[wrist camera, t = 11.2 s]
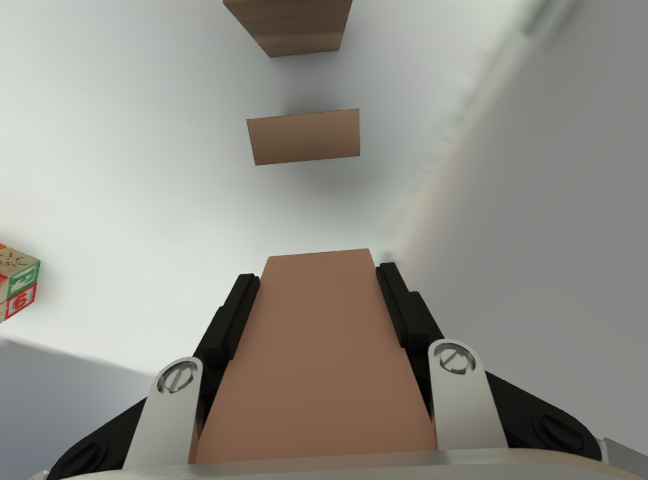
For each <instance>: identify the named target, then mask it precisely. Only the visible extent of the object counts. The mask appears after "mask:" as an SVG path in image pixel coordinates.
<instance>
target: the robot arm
mask: <svg viewBox="0 0 648 480" xmlns="http://www.w3.org/2000/svg"><path fill="white" fill-rule="evenodd" d="M376 277H377V280H378V283H379V286H380V289H381V292H382V295H383V297H384V300H385V303H386V306H387V309H388V312H389V315H390V318H391V321H392V324H393V326H394V329H395V332H396V335H397V338H398V341H399V344H400V347H401V348H405V351H406V354H407V357H408V359H409V362H410V365H411V368H412V371H413V373H414V376H415V379H416V382H417V384H418V387H419V390H420V393H421V396H422V398H423V401H424V404H425V407H426V409H427V412H428V415H429V418H430V420H431V423H432V426H433V432H434V442H435V450H432V451H412V452H393V453H374V454H355V455H337V456H320V457H302V458H285V459H268V460H251V461H235V462H219V463H203V464H195V462H196V455H197V448H198V442H199V439H200V436H201V434H202V431H203V428H204V426H205V423H206V421H207V418H208V415H209V413H210V410H211V407H212V405H213V402H214V400H215V397H216V394H217V392H218V389H219V386H220V384H221V381H222V378H223V376H224V373H225V371H226V368H227V365H228V363H229V360H233V358H234V355H235V353H236V350H237V347H238V344H239V342H240V339H241V336H242V333H243V331H244V328H245V325H246V323H247V320H248V317H249V314H250V312H251V309H252V306H253V303H254V301H255V298H256V295H257V293H258V290H259V287H260V284H261V283H260V279H259V277H258V276H255V275H254V274H253V273H251V274H240V275H239V276H238V278H237V280H236V282H235V284H234V286H233V288H232V290H231V292H230V294H229V295H228V297H227V299H226V301H225V303H224V305H223V306H221V307H219V309H218V310H217V312H216V314H215V316H214V317H213V319H212V321H211V323H210V325H209V327H208V329H207V330H206V332H205V334H204V336H203V338H202V340H201V341H200V343H199V345H198V347H197V349H196V351H195V353H194V354H193V356H192V357H185V358H181V359H178V360H176V361H174V362H172V363H170V364H169V365H167V366H166V367H165V368H164V369H162V370H161V371H160V372H159V374H158V375H157V376H156V377H155V379H154V381H153V383H152V386H151V388H150V391H149V394H148V396H147V397H146V398H144V399H143V400H141V401H140V402H138V403H137V404H135V405H134V406H132V407H130V408H129V409H128V410H126V411H124V412H123V413H122V414H120V415H118V416H117V417H115V418H114V419H112V420H111V421H109V422H108V423H106V424H105V425H103V426H102V427H100V428H99V429H97V430H96V431H94V432H93V433H91V434H89V435H88V436H86V437H85V438H83V439H82V440H80V441H79V442H78V443H76V444H75V445H74V446H72V447H71V448H70V449H69V450H68V451H67V452H66V453H65V454H64V455H63V456H62V457H61V458H59V460H58V461H57V462H56V464H55V465H54V466H53V468H52V469H51V471H50V472H47V471H46V470H43V471H41V472H39V473H38V474H36V475H34V476H33V477H31V478H29V479H28V480H648V456H646V455H643V454H641V453H639V452H637V451H635V450H633V449H630V448H628V447H626V446H624V445H622V444H619V443H617V442H615V441H613V440H611V439H608V438H606V437H604V439H603V440H600V439H597V438H595V437H594V436H593V435H592V434H591V433H590V431H589V430H588V429H587V428H586V427H585V426H584V425H583V424H582V423H580V422H579V421H578V420H577V419H576V418H574V417H573V416H571V415H569V414H568V413H566V412H564V411H563V410H561V409H559V408H557V407H555V406H553V405H551V404H549V403H547V402H545V401H543V400H541V399H539V398H537V397H535V396H534V395H531V394H530V393H528V392H526V391H524V390H522V389H520V388H518V387H516V386H514V385H512V384H510V383H508V382H507V381H505V380H503V379H501V378H499V377H497V376H495V375H493V374H491V373H489V372H487V371H485V370H484V368H483V365H482V362H481V360H480V358H479V356H478V354H476V352H475V351H474V350H473V349H472V348H470V347H469V346H467V345H466V344H464V343H462V342H459V341H456V340H452V339H445V338H444V336H443V334H442V333H441V331H440V329H439V327H438V326H437V324H436V322H435V320H434V318H433V317H432V315H431V313H430V312H429V309H428V308H427V306H426V304H425V302H424V300H423V299H422V297H421V295H420V294H419V292H417V291H413V292H409V291H408V289H407V287H406V285H405V283H404V281H403V279H402V277H401V275H400V273H399V271H398V269H397V267H396V265H395V263H394V262H390V263H381V264H380V267H376Z"/></svg>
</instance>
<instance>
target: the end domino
mask: <svg viewBox="0 0 648 480" xmlns="http://www.w3.org/2000/svg"><path fill="white" fill-rule="evenodd" d="M260 283H261V284H260V287H259V290H258V293H257V295H256V298H255V301H254V303H253V306H252V309H251V312H250V314H249V317H248V320H247V323H246V325H245V328H244V331H243V333H242V336H241V339H240V342H239V344H238V347H237V350H236V353H235V355H234V358H233V360H229V363H228V365H227V368H226V371H225V373H224V376H223V378H222V381H221V384H220V386H219V389H218V392H217V394H216V397H215V400H214V402H213V405H212V407H211V410H210V413H209V415H208V418H207V421H206V423H205V426H204V428H203V431H202V434H201V436H200V439H199V442H198V448H197V455H196V462H195V464H203V463H219V462H235V461H251V460H268V459H285V458H302V457H320V456H337V455H355V454H374V453H393V452H412V451H432V450H435V442H434V432H433V426H432V423H431V420H430V418H429V415H428V412H427V409H426V407H425V404H424V401H423V398H422V396H421V393H420V390H419V387H418V384H417V382H416V379H415V376H414V373H413V371H412V368H411V365H410V362H409V359H408V357H407V354H406V351H405V348H401V347H400V344H399V341H398V338H397V335H396V332H395V329H394V326H393V324H392V321H391V318H390V315H389V312H388V309H387V306H386V303H385V300H384V297H383V295H382V292H381V289H380V286H379V283H378V280H377V277H376V268H375V265H374V262H373V260H372V257H371V254H370V251H369V249H355V250H343V251H331V252H319V253H307V254H295V255H283V256H271V257H269V258H268V260H267V263H266V265H265V268H264V271H263V273H262V276H261V279H260Z"/></svg>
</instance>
